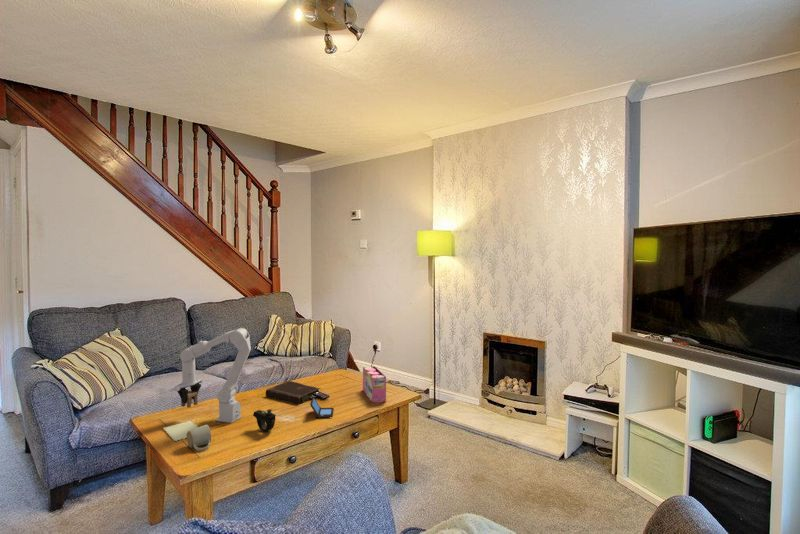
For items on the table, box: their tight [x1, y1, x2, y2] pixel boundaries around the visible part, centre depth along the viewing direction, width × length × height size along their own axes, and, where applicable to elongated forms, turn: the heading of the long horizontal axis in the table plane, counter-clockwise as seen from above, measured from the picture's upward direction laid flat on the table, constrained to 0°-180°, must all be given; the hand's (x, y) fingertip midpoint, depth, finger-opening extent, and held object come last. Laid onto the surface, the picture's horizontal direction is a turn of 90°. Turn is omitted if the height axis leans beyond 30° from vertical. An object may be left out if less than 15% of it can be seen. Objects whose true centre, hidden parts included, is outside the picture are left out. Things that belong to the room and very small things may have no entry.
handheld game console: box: [309, 397, 335, 419], centre depth 216 cm, size 12×11×7 cm
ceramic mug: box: [186, 424, 212, 452], centre depth 180 cm, size 11×8×8 cm
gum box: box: [362, 366, 387, 403], centre depth 245 cm, size 24×8×14 cm, turn 19°
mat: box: [162, 420, 199, 442], centre depth 195 cm, size 18×12×1 cm, turn 43°
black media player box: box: [265, 380, 322, 405], centre depth 243 cm, size 19×25×5 cm
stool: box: [180, 390, 199, 409], centre depth 208 cm, size 5×5×6 cm
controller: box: [252, 409, 277, 433], centre depth 196 cm, size 4×12×10 cm, turn 56°
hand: (189, 401), depth 208 cm, fingers closed on stool, 5 cm apart
